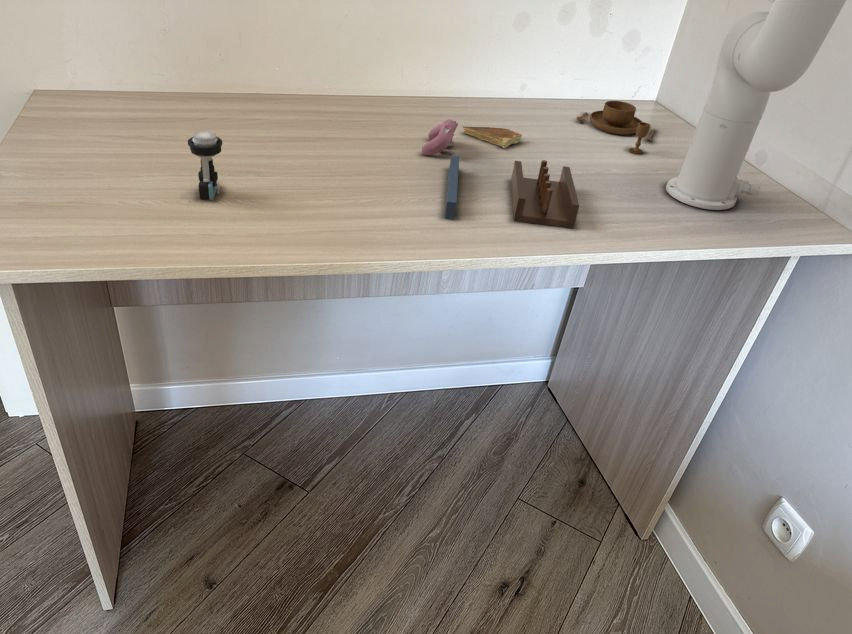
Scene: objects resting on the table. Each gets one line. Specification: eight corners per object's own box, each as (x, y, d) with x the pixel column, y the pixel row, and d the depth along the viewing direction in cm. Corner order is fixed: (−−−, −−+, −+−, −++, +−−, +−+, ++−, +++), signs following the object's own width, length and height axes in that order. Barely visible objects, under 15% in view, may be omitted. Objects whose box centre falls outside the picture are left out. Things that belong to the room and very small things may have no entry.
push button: (197, 182, 117) (191, 125, 111) (229, 184, 117) (225, 127, 111) (190, 200, 112) (184, 140, 106) (223, 201, 112) (219, 142, 106)
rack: (564, 188, 127) (571, 160, 124) (573, 228, 115) (581, 198, 111) (510, 182, 128) (516, 153, 124) (513, 221, 115) (520, 190, 112)
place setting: (658, 128, 158) (666, 102, 155) (644, 156, 144) (653, 128, 140) (583, 111, 164) (590, 86, 160) (562, 136, 149) (569, 109, 145)
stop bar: (457, 171, 130) (459, 156, 128) (454, 219, 114) (456, 202, 112) (448, 170, 130) (451, 155, 128) (444, 218, 114) (446, 201, 112)
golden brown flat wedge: (461, 133, 146) (462, 125, 145) (482, 125, 150) (484, 117, 149) (502, 149, 140) (504, 140, 139) (523, 141, 145) (525, 132, 144)
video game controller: (438, 166, 135) (458, 137, 130) (418, 152, 134) (438, 123, 130) (444, 148, 142) (464, 120, 138) (426, 135, 142) (445, 107, 137)
